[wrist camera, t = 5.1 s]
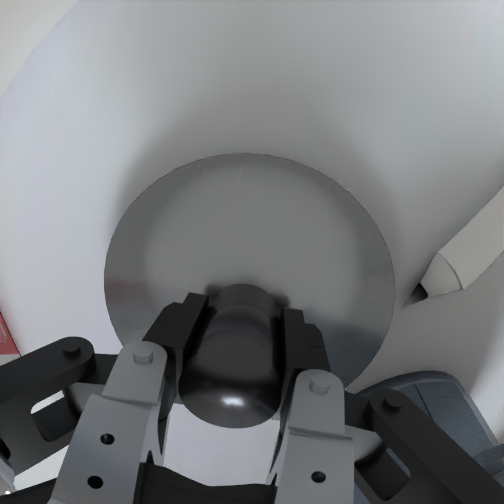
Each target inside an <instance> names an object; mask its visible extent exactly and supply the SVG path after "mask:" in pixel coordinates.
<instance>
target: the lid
mask: <svg viewBox="0 0 504 504" xmlns="http://www.w3.org/2000/svg"><path fill="white" fill-rule="evenodd" d="M104 291H105V298H106V305H107V309H108V313H109V316H110V320H111V323H112V325H113V327H114V330H115V332H116V334H117V337H118V338H119V340H120V342H121V344H122V345H123V347H124V346H126V345H127V344H129V343H132V342H136V341H141V340H142V339H143V337H144V336H145V334H146V333H147V332H148V330H149V329H150V327H151V326H152V324H153V323H154V322H155V320H156V318H157V317H158V316H159V314H160V313H161V311H162V310H163V308H164V307H165V306H167V305H169V304H171V303H173V302H177V303H183V301H184V300H185V298H186V296H187V295H188V293H189V292H193V293H198V294H204V295H209V306H208V310H207V312H206V315H205V317H204V319H203V322H202V324H201V327H200V329H199V331H198V334H197V336H196V339H195V341H194V343H193V346H192V348H191V351H190V353H189V356H188V358H187V361H186V363H185V365H184V368H183V370H182V373H181V375H180V378H179V381H178V393H179V396H180V399H181V401H182V402H183V404H184V405H185V406H186V408H187V409H188V410H189V411H190V412H191V413H193V414H194V415H195V416H197V417H198V418H200V419H202V420H204V421H206V422H208V423H211V424H213V425H217V426H221V427H226V428H247V427H252V426H256V425H259V424H261V423H263V422H265V421H267V420H268V419H270V418H271V417H272V416H273V415H274V414H275V413H276V412H277V410H278V409H279V407H280V404H281V400H282V394H281V343H280V317H281V312H282V309H283V307H286V308H293V309H300V310H303V315H304V320H305V323H308V324H315V325H316V327H317V328H318V329H319V330H320V331H321V332H322V336H323V340H324V344H325V350H326V352H327V356H328V361H329V365H330V369H331V373H332V374H334V375H335V376H337V377H338V378H339V379H340V380H341V382H342V384H343V386H344V388H346V387H347V386H348V385H349V384H351V383H352V382H353V381H354V380H355V379H356V378H357V377H358V376H359V375H360V374H361V373H362V372H363V371H364V370H365V368H366V367H367V366H368V365H369V364H370V362H371V361H372V359H373V358H374V356H375V355H376V353H377V352H378V350H379V349H380V347H381V345H382V342H383V340H384V338H385V336H386V334H387V331H388V328H389V325H390V321H391V318H392V313H393V307H394V300H395V280H394V273H393V267H392V262H391V258H390V255H389V252H388V249H387V246H386V243H385V241H384V239H383V237H382V235H381V233H380V231H379V229H378V227H377V225H376V224H375V222H374V221H373V220H372V218H371V217H370V215H369V214H368V212H367V211H366V210H365V208H364V207H363V206H362V205H361V204H360V203H359V202H358V201H357V200H356V199H355V198H354V197H353V196H352V195H351V194H350V193H349V192H348V191H346V190H345V189H344V188H342V187H341V186H340V185H339V184H337V183H336V182H335V181H333V180H332V179H330V178H328V177H327V176H325V175H323V174H321V173H319V172H318V171H316V170H314V169H312V168H310V167H307V166H304V165H302V164H299V163H296V162H294V161H291V160H287V159H283V158H278V157H273V156H269V155H259V154H244V153H243V154H229V155H219V156H215V157H210V158H206V159H201V160H197V161H195V162H192V163H190V164H187V165H185V166H182V167H180V168H177V169H175V170H174V171H172V172H170V173H168V174H167V175H165V176H163V177H162V178H160V179H158V180H157V181H156V182H155V183H153V184H152V185H151V186H150V187H148V188H147V189H146V190H145V191H143V192H142V193H141V194H140V196H139V197H138V198H137V199H136V200H135V201H134V202H133V203H132V204H131V205H130V207H129V208H128V210H127V211H126V213H125V214H124V216H123V217H122V219H121V220H120V222H119V224H118V226H117V228H116V230H115V232H114V234H113V236H112V239H111V242H110V245H109V249H108V252H107V256H106V263H105V270H104Z"/></svg>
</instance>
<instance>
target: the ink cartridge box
mask: <svg viewBox="0 0 504 504" xmlns="http://www.w3.org/2000/svg"><path fill="white" fill-rule="evenodd" d="M19 357H21V356H20V354H19V352H18V350H17V349H16V346H15V344H14V342H13V340H12V338H11V336H10V334H9V332H8V330H7V327H6V325H5V323H4V321H3V318H2V316H1V314H0V366H1V365H3V364H6V363H8V362H10V361H12V360H15V359H17V358H19Z"/></svg>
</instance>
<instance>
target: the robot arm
mask: <svg viewBox="0 0 504 504" xmlns="http://www.w3.org/2000/svg"><path fill="white" fill-rule="evenodd" d="M208 306H209V295H204V294H198V293H193V292H189V293H188V295H187V296H186V298H185V300H184V301H183V303H177V302H173V303H171V304H169V305H167V306H165V307H164V308H163V310H162V311H161V313H160V314H159V316H158V317H157V318H156V320H155V322H154V323H153V324H152V326H151V327H150V329H149V330H148V332H147V333H146V334H145V336H144V337H143V339H142V340H141V341H136V342H132V343H129V344H127V345H126V346H124V347H123V348H122V349H121V351H120V353H119V354H117V355H110V354H95V353H94V348H93V345H92V344H91V343H90V342H89V341H88V340H86V339H84V338H81V337H66V338H62V339H60V340H58V341H55V342H53V343H51V344H49V345H46V346H44V347H42V348H40V349H37V350H35V351H33V352H30V353H28V354H26V355H24V356H21V357H19V358H17V359H15V360H12V361H10V362H8V363H6V364H3V365H1V366H0V504H353V498H354V483H355V484H356V485H357V487H358V488H359V489H360V491H361V492H362V493H363V495H364V496H365V497H366V498H367V500H368V501H369V502H370V504H504V487H503V486H502V485H501V484H500V483H498V482H497V481H496V480H495V479H494V478H493V477H492V476H491V475H490V474H489V473H488V472H487V471H486V470H485V469H484V468H483V467H482V466H480V465H479V464H478V463H477V462H476V461H475V460H474V459H473V458H472V457H471V456H470V455H469V454H468V453H467V452H466V451H465V450H463V449H462V448H461V447H460V446H459V445H458V444H457V443H456V442H455V441H454V440H453V439H452V438H451V437H450V436H449V435H448V434H447V433H445V432H444V431H443V430H442V429H441V428H440V427H439V426H438V425H437V424H436V423H435V422H434V421H433V420H432V419H431V418H430V417H428V416H427V415H426V414H425V413H424V412H423V411H422V410H421V409H420V408H419V407H418V406H417V405H416V404H415V403H414V402H413V401H411V400H410V399H409V398H408V397H407V396H406V395H405V394H403V393H402V392H400V391H397V390H394V389H389V388H384V389H379V390H377V391H375V392H374V393H373V394H372V395H371V397H370V399H369V398H365V397H362V396H358V395H354V394H351V393H349V392H347V391H345V390H344V386H343V384H342V382H341V380H340V379H339V378H338V377H337V376H335V375H334V374H332V373H331V369H330V365H329V361H328V356H327V352H326V350H325V344H324V340H323V336H322V332H321V331H320V330H319V329H318V328H317V327H316V325H315V324H308V323H305V320H304V315H303V310H300V309H293V308H286V307H283V309H282V312H281V317H280V343H281V394H282V400H281V404H280V407H279V409H278V410H277V412H276V413H275V414H274V415H273V416H272V420H280V430H279V433H278V435H277V439H276V443H275V447H274V452H273V456H272V460H271V464H270V468H269V472H268V476H267V479H266V483H265V484H245V485H232V486H206V485H203V484H201V483H198V482H196V481H194V480H191V479H189V478H187V477H185V476H182V475H180V474H178V473H176V472H174V471H172V470H170V469H168V468H166V467H164V456H165V448H166V440H167V433H168V426H169V419H170V414H169V413H170V411H171V408H172V405H173V403H177V404H182V405H183V402H182V401H181V399H180V396H179V393H178V381H179V378H180V375H181V373H182V370H183V368H184V365H185V363H186V361H187V358H188V356H189V353H190V351H191V348H192V346H193V343H194V341H195V339H196V336H197V334H198V331H199V329H200V327H201V324H202V322H203V319H204V317H205V315H206V312H207V310H208ZM61 390H62V392H63V395H64V397H63V398H61V399H59V400H57V401H55V402H54V403H52V404H50V405H48V406H46V407H44V408H43V409H41V410H39V411H37V412H35V413H33V414H31V409H32V407H33V406H34V405H35V404H36V403H38V402H40V401H42V400H44V399H46V398H48V397H50V396H51V395H53V394H55V393H57V392H59V391H61ZM67 445H69V447H68V450H67V452H66V455H65V458H64V460H63V463H62V466H61V469H60V472H59V474H58V477H57V478H54V479H52V480H49V481H46V482H43V483H40V484H37V485H34V486H31V487H28V488H25V489H22V490H19V491H15V492H14V490H15V486H14V484H13V483H14V477H15V476H16V475H18V474H20V473H22V472H24V471H25V470H27V469H29V468H30V467H32V466H34V465H36V464H37V463H39V462H41V461H42V460H44V459H46V458H47V457H49V456H51V455H52V454H54V453H56V452H57V451H59V450H61V449H62V448H64V447H66V446H67ZM388 448H390V449H391V450H392V451H393V452H394V453H395V455H396V456H397V457H398V458H399V459H400V460H401V461H402V462H403V463H404V465H405V466H406V467H407V468H408V469H409V471H410V477H409V476H408V475H407V474H406V473H405V472H404V471H403V470H402V468H401V467H400V466H399V465H398V464H397V463H396V462H395V461H394V459H393V458H392V457H391V456H390V455H389V454H388V453H387V452H386V451H387V450H388ZM4 494H5V495H4Z"/></svg>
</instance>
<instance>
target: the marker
mask: <svg viewBox="0 0 504 504" xmlns="http://www.w3.org/2000/svg"><path fill="white" fill-rule="evenodd" d="M503 251H504V185H503V186H502V187H501V189H500V190H499V191H498V192H497V193H496V194H495V195H494V196H493V197H492V198H491V199H490V200H489V202H488V203H487V204H486V205H485V206H484V207H483V208H482V209H481V210H480V211H479V212H478V213H477V214H476V215H475V216H474V217H473V218H472V219H471V220H470V221H469V222H468V223H467V224H466V225H465V226H464V227H463V228H462V229H461V230H460V231H459V232H458V233H457V234H456V235H455V236H453V237H452V238H451V239H450V240H449V241H448V242H447V243H446V244H445V245H444V246H443V247H442V248H441V249H439V250H438V251H437V252H436V253H435V256H434V258H433V260H432V261H431V263H430V265H429V267H428V269H427V271H426V273H425V275H424V276H423V278H422V280H421V282H420V283H418V285H417V286H416V288H415V289H414V291H413V292H412V294H411V295H410V297H409V298H408V299H407V301H406V302H405V304H404V305H403V307H402V308H404V307H406V306H409V305H411V304H414V303H416V302H419V301H421V300H424V299H426V298H429V297H433V296H437V295H441V294H445V293H450V292H453V291H457V290H465V289H466V288H467V287H468V286H469V285H470V284H471V283H473V282H474V281H475V280H476V279H477V278H478V277H479V276H480V275H481V274H482V273H483V272H484V271H485V270H486V269H487V268H488V267H489V266H490V265H491V264H492V262H493V261H494V260H495V259H496V258H497V257H498V256H499V255H500V254H501V253H502V252H503Z"/></svg>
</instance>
